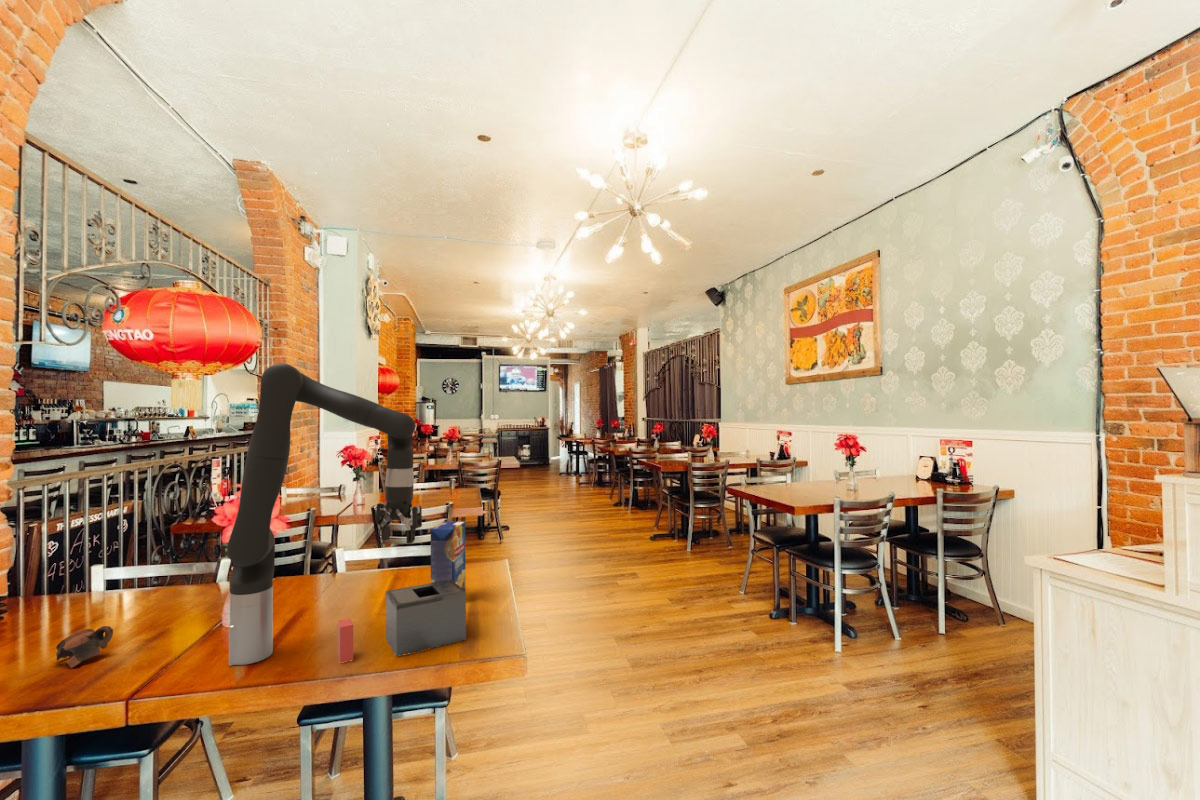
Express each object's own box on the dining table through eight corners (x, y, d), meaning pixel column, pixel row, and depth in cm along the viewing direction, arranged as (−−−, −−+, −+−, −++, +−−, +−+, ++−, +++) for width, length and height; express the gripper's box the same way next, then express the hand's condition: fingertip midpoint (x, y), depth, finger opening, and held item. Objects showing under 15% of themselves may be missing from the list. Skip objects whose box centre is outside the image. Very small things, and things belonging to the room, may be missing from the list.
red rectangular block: (340, 664, 132) (340, 627, 132) (337, 656, 136) (337, 620, 137) (353, 660, 134) (353, 624, 134) (350, 653, 138) (350, 618, 138)
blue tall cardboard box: (453, 604, 172) (452, 529, 172) (430, 603, 173) (430, 529, 173) (465, 591, 184) (465, 521, 184) (444, 591, 185) (444, 521, 185)
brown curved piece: (55, 678, 128) (40, 651, 130) (83, 678, 137) (69, 652, 139) (109, 640, 133) (94, 614, 135) (133, 643, 141) (119, 618, 144)
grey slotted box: (396, 657, 136) (396, 605, 136) (386, 638, 147) (386, 591, 147) (465, 640, 145) (465, 592, 145) (451, 624, 156) (451, 579, 156)
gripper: (369, 483, 151) (368, 541, 150) (410, 487, 146) (409, 547, 145) (389, 481, 158) (387, 536, 157) (428, 484, 153) (427, 541, 152)
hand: (397, 541), depth 151 cm, fingers open, 8 cm apart
